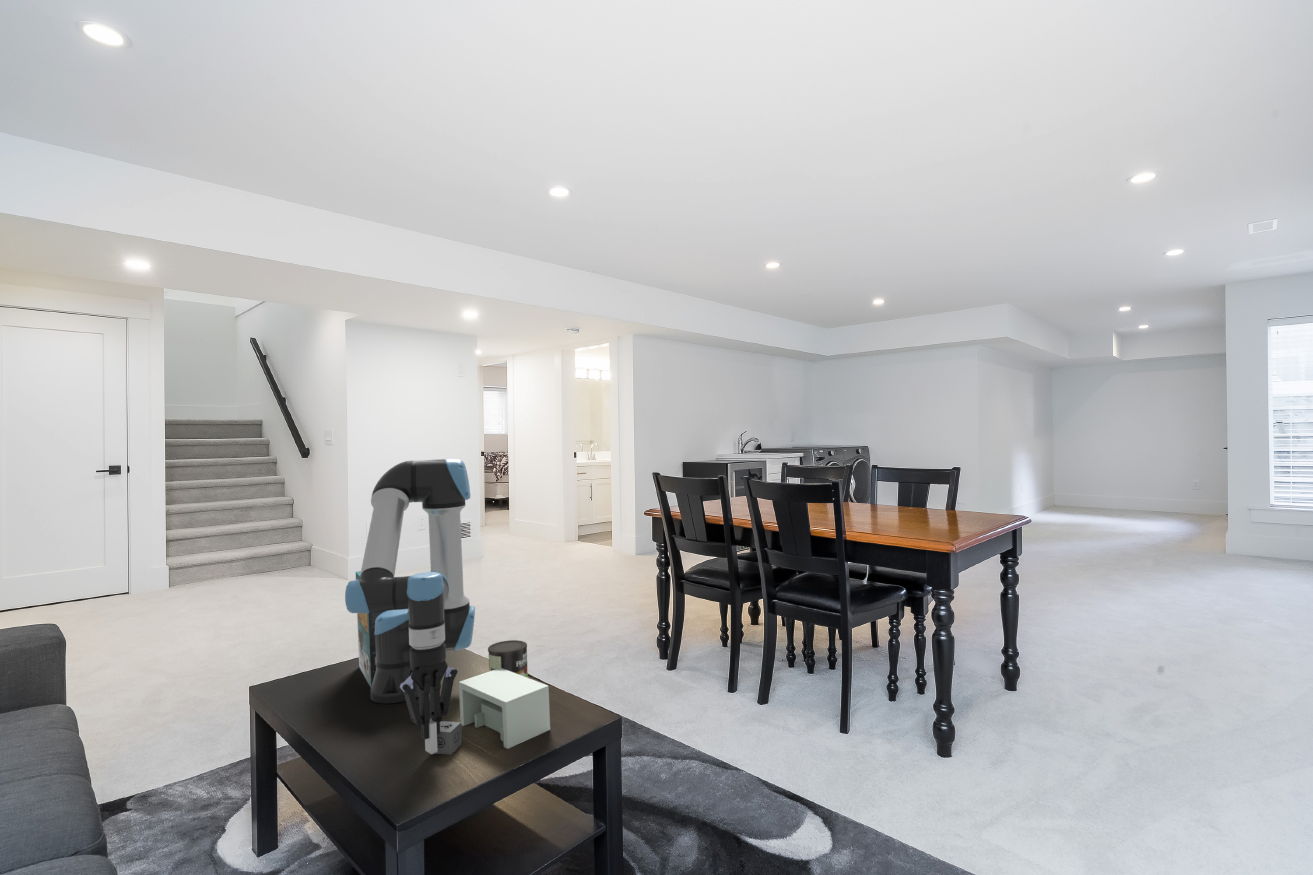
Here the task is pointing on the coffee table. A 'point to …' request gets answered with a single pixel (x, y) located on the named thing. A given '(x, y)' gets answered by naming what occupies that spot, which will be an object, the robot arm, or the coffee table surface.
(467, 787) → the coffee table surface
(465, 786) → the coffee table surface
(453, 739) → the dice cube
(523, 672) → the coffee can
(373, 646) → the cake mix box
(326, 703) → the coffee table surface
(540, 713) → the shelf
